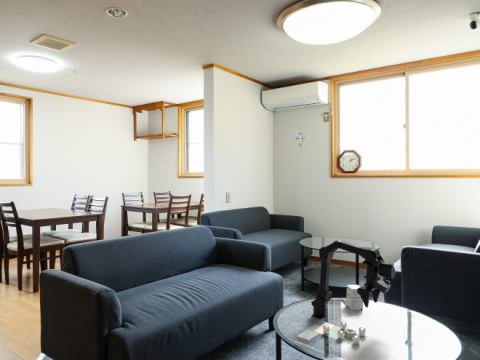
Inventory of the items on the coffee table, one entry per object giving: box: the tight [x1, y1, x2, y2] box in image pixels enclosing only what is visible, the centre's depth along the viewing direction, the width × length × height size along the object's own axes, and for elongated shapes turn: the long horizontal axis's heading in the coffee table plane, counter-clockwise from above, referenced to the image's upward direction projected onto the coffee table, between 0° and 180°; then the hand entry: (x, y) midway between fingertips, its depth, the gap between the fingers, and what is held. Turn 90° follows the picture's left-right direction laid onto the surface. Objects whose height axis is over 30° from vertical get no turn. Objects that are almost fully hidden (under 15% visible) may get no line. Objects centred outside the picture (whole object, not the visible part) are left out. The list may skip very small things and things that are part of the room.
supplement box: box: [345, 284, 364, 311], centre depth 202 cm, size 7×7×13 cm
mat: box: [313, 322, 368, 346], centre depth 167 cm, size 22×13×1 cm, turn 50°
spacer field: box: [323, 321, 366, 347], centre depth 166 cm, size 18×13×4 cm
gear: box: [344, 328, 357, 340], centre depth 164 cm, size 6×6×3 cm
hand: (371, 304), depth 169 cm, fingers open, 9 cm apart
